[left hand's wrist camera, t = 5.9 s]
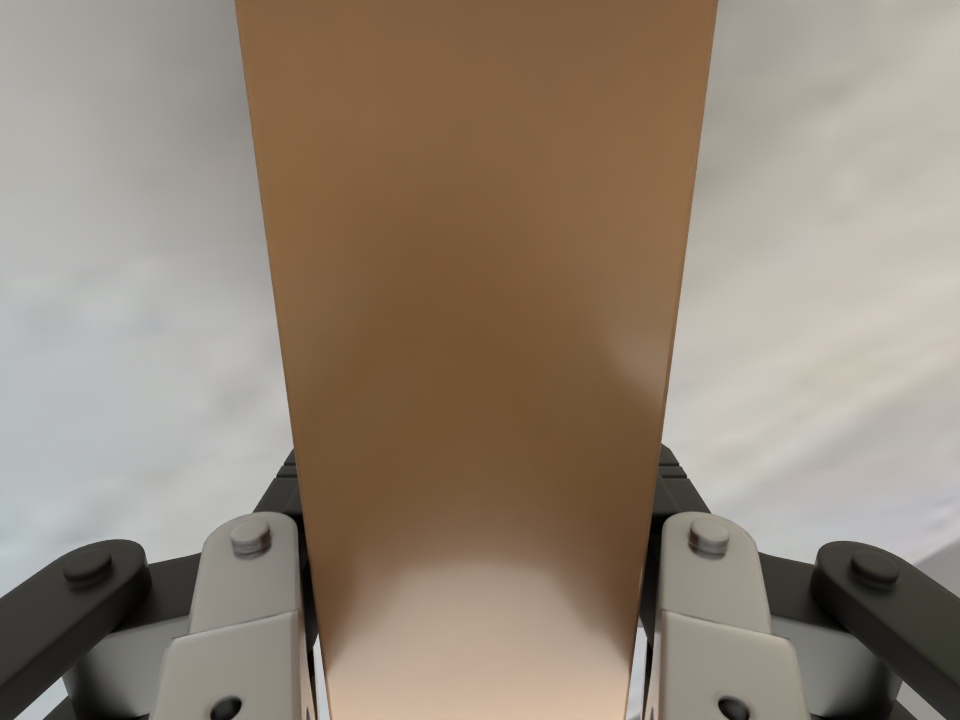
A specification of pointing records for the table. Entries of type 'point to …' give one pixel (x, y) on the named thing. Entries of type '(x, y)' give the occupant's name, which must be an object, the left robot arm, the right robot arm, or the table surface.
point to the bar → (476, 330)
